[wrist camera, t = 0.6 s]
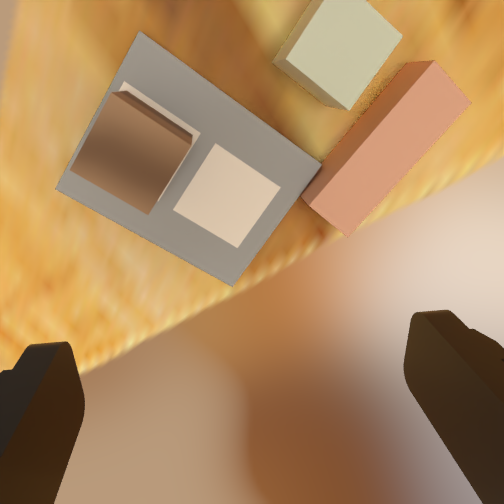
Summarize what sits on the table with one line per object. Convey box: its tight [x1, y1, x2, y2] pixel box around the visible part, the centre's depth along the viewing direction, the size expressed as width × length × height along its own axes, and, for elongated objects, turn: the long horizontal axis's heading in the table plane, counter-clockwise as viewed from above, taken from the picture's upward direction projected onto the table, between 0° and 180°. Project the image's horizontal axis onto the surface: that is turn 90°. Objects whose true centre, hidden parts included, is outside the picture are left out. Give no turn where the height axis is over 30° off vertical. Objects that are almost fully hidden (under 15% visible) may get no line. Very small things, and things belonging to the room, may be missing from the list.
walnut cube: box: [70, 90, 193, 215], centre depth 25 cm, size 5×5×5 cm
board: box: [55, 31, 322, 287], centre depth 29 cm, size 12×15×1 cm
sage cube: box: [272, 0, 403, 111], centre depth 25 cm, size 5×5×5 cm
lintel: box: [300, 60, 471, 237], centre depth 29 cm, size 12×4×4 cm, turn 141°
